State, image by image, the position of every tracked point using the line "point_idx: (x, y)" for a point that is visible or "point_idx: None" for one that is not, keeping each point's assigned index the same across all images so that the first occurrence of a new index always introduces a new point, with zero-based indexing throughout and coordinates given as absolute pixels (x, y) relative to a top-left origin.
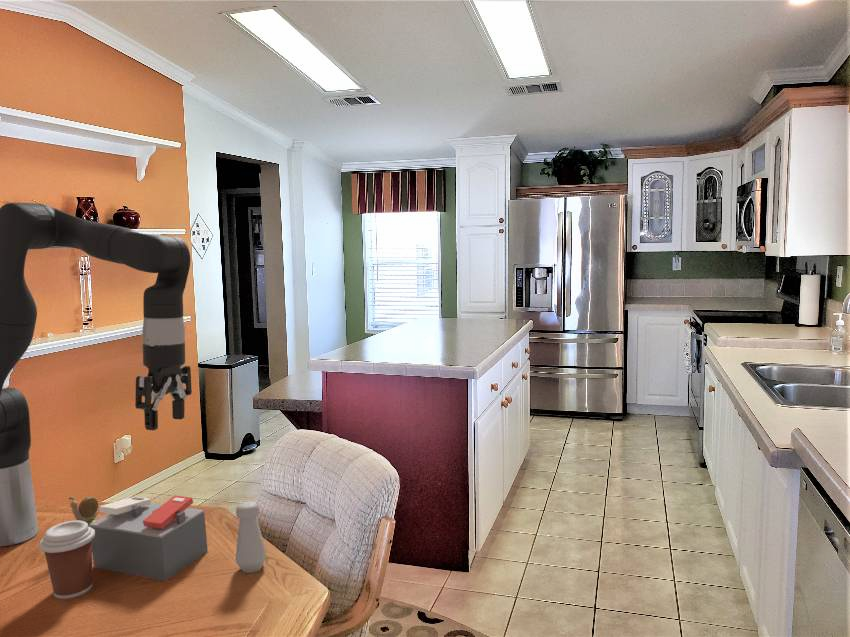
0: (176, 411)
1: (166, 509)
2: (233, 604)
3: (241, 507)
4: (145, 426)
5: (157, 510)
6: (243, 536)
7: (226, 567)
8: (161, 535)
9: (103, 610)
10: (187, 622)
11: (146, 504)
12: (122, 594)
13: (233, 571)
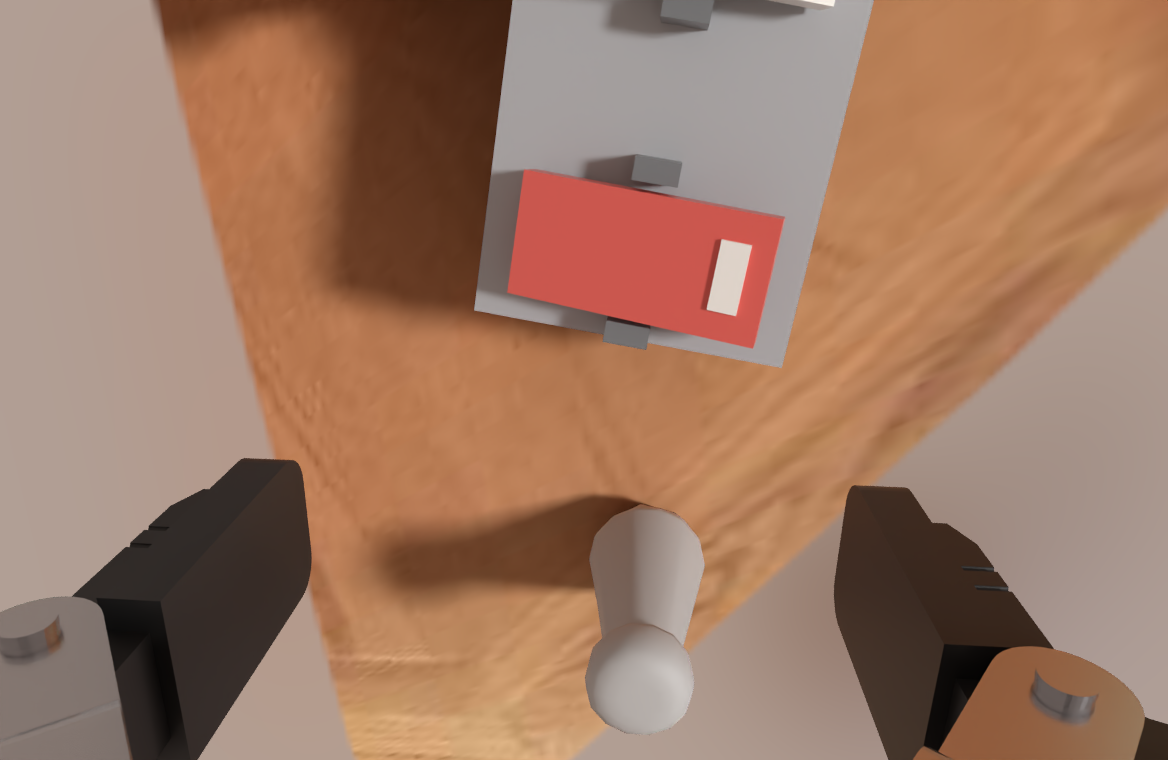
0: (873, 592)
1: (632, 251)
2: (427, 568)
3: (603, 686)
4: (192, 500)
5: (622, 199)
6: (601, 610)
7: (642, 448)
8: (478, 308)
9: (303, 158)
10: (313, 478)
11: (788, 3)
12: (406, 158)
13: (618, 485)
